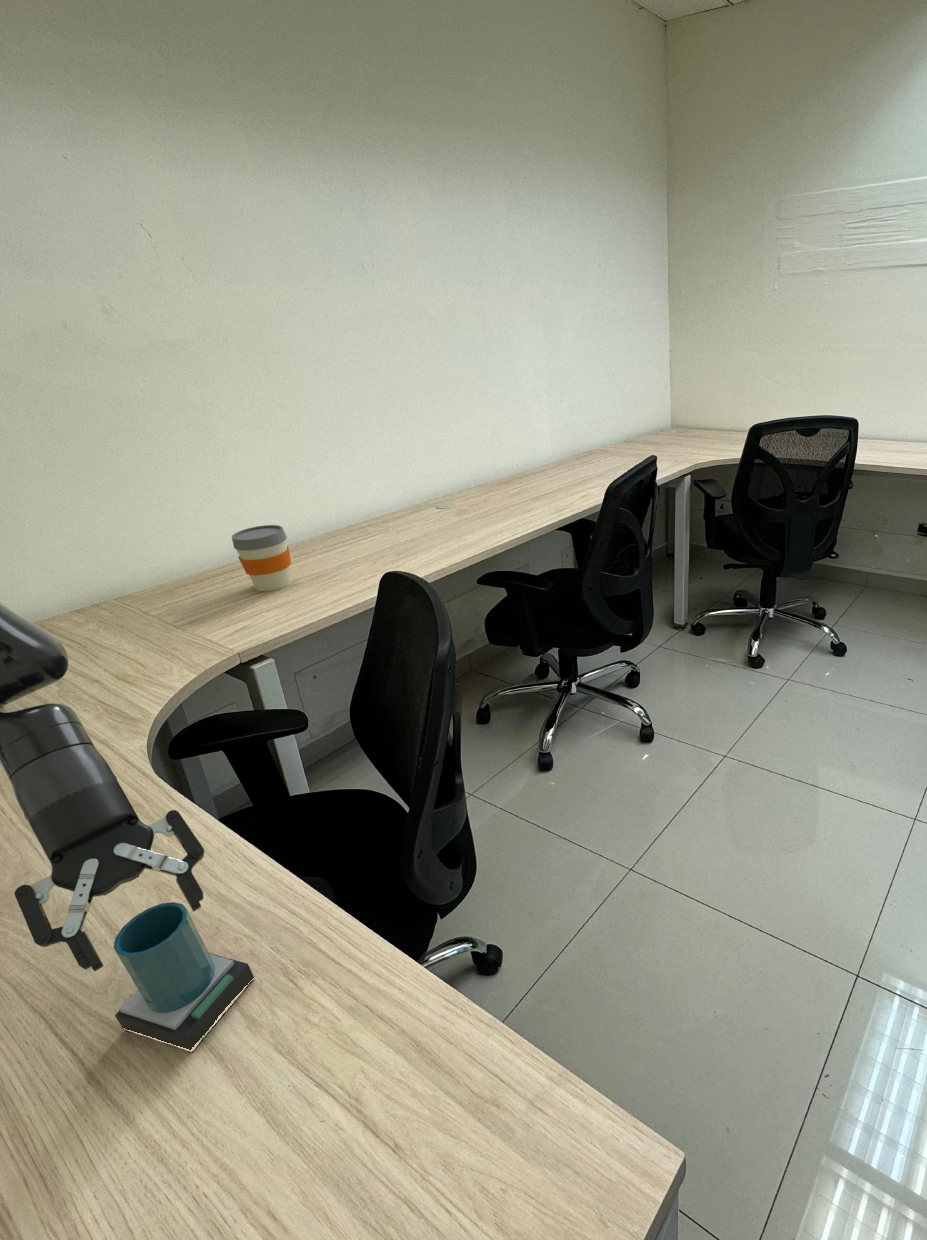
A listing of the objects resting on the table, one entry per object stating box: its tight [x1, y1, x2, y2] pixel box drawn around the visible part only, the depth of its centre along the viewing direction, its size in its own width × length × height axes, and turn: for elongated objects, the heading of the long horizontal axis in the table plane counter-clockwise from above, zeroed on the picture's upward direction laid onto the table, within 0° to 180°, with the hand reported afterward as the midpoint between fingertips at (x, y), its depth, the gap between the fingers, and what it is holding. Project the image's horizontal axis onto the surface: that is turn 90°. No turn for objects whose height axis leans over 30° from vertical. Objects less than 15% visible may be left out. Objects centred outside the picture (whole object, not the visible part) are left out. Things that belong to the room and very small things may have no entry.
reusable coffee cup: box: [231, 524, 293, 592], centre depth 172 cm, size 13×12×15 cm
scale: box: [114, 952, 255, 1050], centre depth 67 cm, size 9×8×3 cm
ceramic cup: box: [113, 901, 215, 1013], centre depth 65 cm, size 6×6×8 cm
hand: (150, 937), depth 64 cm, fingers open, 8 cm apart
